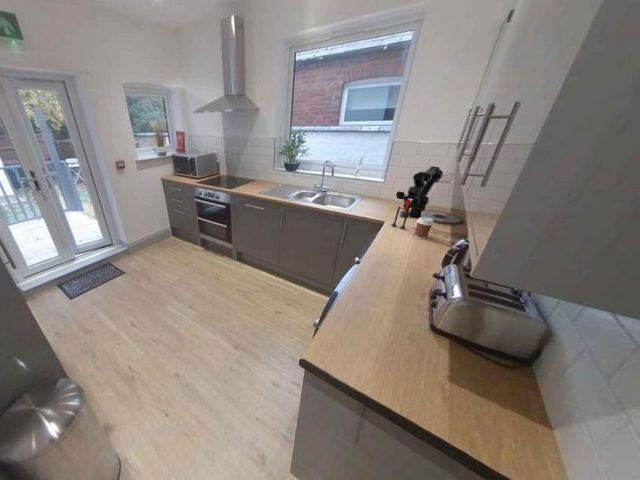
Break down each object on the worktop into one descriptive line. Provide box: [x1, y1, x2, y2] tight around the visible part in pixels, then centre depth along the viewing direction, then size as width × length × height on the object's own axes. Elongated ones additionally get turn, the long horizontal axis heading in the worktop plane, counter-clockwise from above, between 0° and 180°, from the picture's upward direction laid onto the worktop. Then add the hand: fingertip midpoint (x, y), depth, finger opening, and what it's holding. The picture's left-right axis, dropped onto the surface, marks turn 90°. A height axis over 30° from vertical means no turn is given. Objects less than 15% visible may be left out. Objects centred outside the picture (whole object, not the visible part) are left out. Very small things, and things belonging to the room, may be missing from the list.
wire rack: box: [391, 206, 410, 230], centre depth 170 cm, size 2×8×14 cm, turn 39°
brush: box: [399, 199, 412, 219], centre depth 170 cm, size 6×5×12 cm
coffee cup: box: [413, 216, 435, 240], centre depth 157 cm, size 9×9×12 cm
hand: (405, 208), depth 169 cm, fingers closed on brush, 2 cm apart
